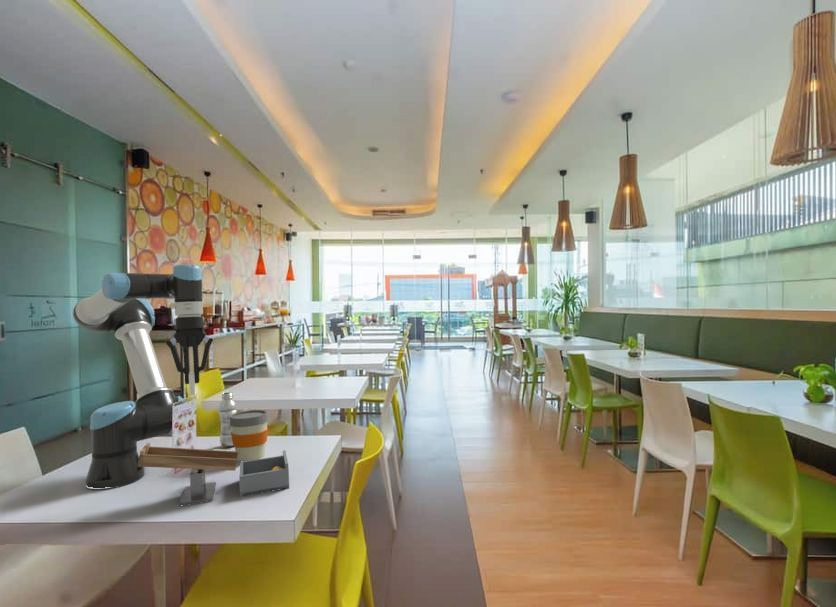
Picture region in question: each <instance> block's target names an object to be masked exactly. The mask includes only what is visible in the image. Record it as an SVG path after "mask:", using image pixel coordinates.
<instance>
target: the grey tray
mask: <svg viewBox="0 0 836 607" xmlns="http://www.w3.org/2000/svg"><path fill="white" fill-rule="evenodd" d="M274 467H281V468H282V469H278V470H272V469H273V468H274ZM271 470H272V471H271ZM289 474H290V473H289V462H288V456H287V452H286V450H282V455H277V456H276V455H275V456H271V457H269V456H268V457H263V458H261V459H256V460H249V461H243V462H240V466H239V475H238V476H239V479H238V480H239V497H246V496H251V494H253V495H258V494H257V493H259V494H262V493H261V492H264V493H268V492H267V491H270V492H273V491H272V490H276V491H279V490H278V489H281V490H284V489H283V488H287V489H290V475H289Z"/></svg>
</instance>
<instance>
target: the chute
mask: <svg viewBox="0 0 836 607" xmlns="http://www.w3.org/2000/svg"><path fill="white" fill-rule="evenodd" d="M237 455H238V451H235V450H234V449H219V448H217V449H215V448H214V449H202V448H180V447H166V446H151V442H146V444H145V445H144V446H143V447H142V448H141V450H140V452H139V461H138V466H137V467H144V468H160V469H161V468H163V469H165V468H167V469H188V470H189V469H190V470H192V469H194V470H193V474H197V473H198V470H199V469H205V470H210V471H211V470H212V471H234V472H236V468H237V462H238V460H237Z"/></svg>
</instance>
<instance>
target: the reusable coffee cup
mask: <svg viewBox="0 0 836 607" xmlns="http://www.w3.org/2000/svg"><path fill="white" fill-rule="evenodd" d="M268 421H269V416H268V411H267V410H261V409H255V410H254V409H253V410H250V409H249V410H243V411H239V412H237V413H235V414H233V415H231V416H230V426H231V429H232V432H231V436H232V442H233V446H232V447H234V449H235V450H234V451H238V455H237V462H240V461H242V462H243V461H249V460H256V459H260V458H261V459H263V458H264V457H265V452H266V443H267V441H268V431H269V428H268ZM263 456H264V457H263ZM262 457H263V458H262Z"/></svg>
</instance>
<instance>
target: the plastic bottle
mask: <svg viewBox="0 0 836 607" xmlns="http://www.w3.org/2000/svg"><path fill="white" fill-rule="evenodd" d="M233 395H234V394H233V392H231V391H230V392H223V393H221V399H222V400H221V402H220V403H219V405H218V409H217V410H218V415H219V419H220V436H219V443H220V445H221V446H222V447H224V448H229V447H234V446H233V442H232V436H231V432H232V429H231V426H230V416H231V415H233V414H235V413H238V405H237V403H236V402H235V400H234V399H233V398H234V396H233Z"/></svg>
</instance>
